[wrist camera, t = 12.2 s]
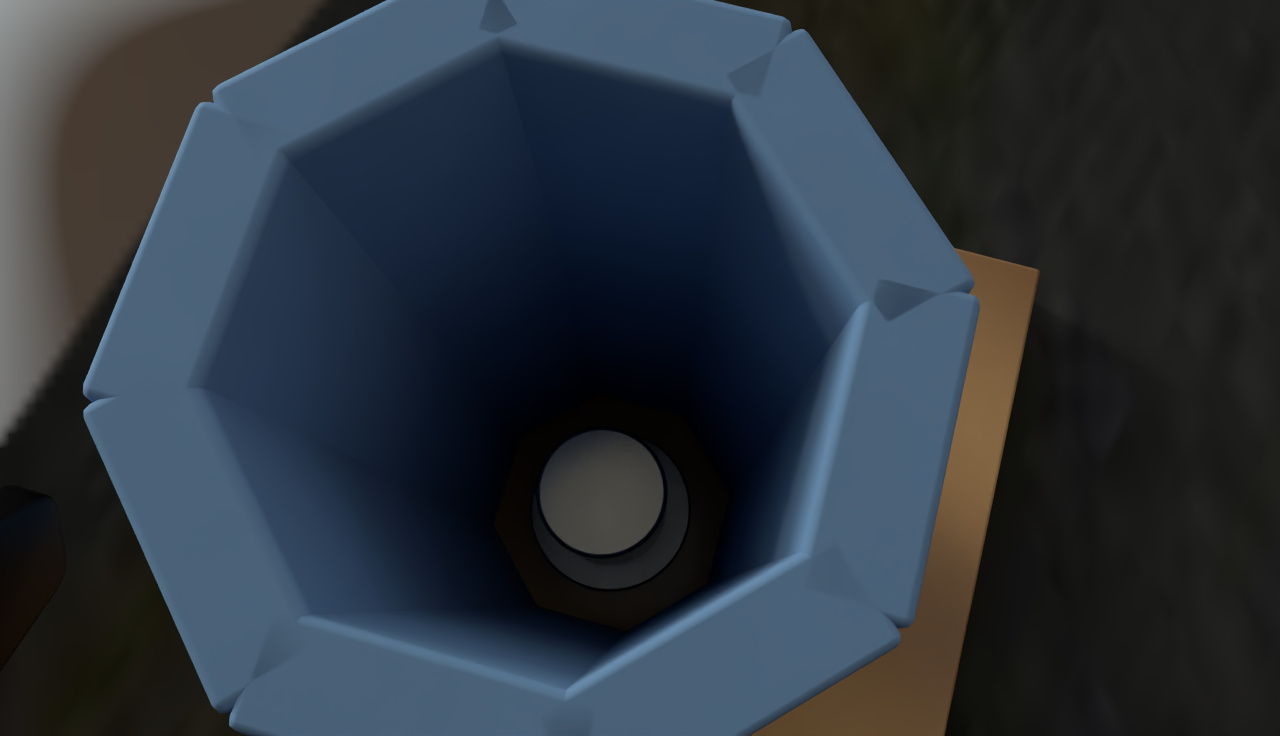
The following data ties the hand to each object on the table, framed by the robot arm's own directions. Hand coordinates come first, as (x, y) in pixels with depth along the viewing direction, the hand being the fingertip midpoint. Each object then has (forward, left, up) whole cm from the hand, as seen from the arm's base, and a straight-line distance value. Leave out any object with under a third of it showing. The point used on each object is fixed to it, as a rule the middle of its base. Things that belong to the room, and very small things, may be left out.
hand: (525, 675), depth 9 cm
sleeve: (+2, 0, -7) cm, 8 cm away
